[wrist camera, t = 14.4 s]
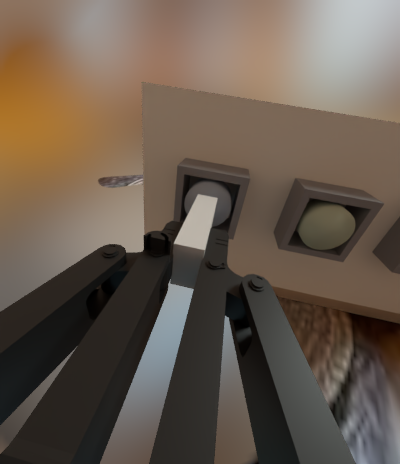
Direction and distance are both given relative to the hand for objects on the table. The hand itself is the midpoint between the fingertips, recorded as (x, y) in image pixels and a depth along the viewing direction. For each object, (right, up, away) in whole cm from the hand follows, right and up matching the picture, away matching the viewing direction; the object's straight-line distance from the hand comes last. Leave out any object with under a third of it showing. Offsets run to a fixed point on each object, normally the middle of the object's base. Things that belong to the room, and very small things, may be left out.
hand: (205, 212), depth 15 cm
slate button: (0, -1, +3) cm, 3 cm away
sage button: (+10, -3, +3) cm, 11 cm away
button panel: (+9, -9, +12) cm, 17 cm away
